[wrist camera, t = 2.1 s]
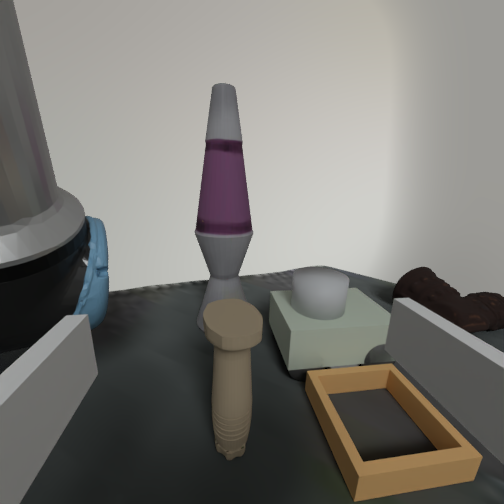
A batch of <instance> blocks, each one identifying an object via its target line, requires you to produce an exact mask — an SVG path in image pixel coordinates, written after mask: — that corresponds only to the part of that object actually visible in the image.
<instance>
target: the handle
mask: <svg viewBox="0 0 504 504" xmlns="http://www.w3.org/2000/svg"><path fill="white" fill-rule="evenodd" d="M262 325H263V318H262V315H261V314H260V313H259V311H258V310H257V309H256V308H255V307H254V306H253V305H251V304H249V303H247V302H245V301H243V300H241V299H222V300H217V301H214V302H211V303H209V304H207V306H206V308H205V310H204V312H203V327H204V332H205V336H206V338H207V340H208V341H209V342H211V343H212V344H213V345H214V363H213V383H212V419H213V428H214V434H215V445H216V449H217V451H218V452H219V453H222V454H223V455H224V456H225V457H226V459H227V460H232V459H233V458H235V457H238V456H239V457H241V456H242V455H243V454H244V452H245V443H246V442H247V438H248V434H249V429H250V423H251V413H252V383H251V353H250V348H251V347H253V346H255V345H257V344H258V343H259V342H261V339H262Z"/></svg>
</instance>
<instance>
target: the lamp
mask: <svg viewBox="0 0 504 504" xmlns="http://www.w3.org/2000/svg"><path fill="white" fill-rule="evenodd" d="M205 142H206V148H205V157H204V165H203V174H202V182H201V190H200V199H199V208H198V215H197V223H196V230H195V235H196V237H197V240H198V243H199V245H200V248H201V250H202V253H203V256H204V258H205V261H206V264H207V267H208V269H209V272H210V279H209V282H208V285H207V288H206V292H205V295H204V298H203V301H202V304H201V308H200V311H199V314H198V317H197V325H198V327H199V328H200V329H201V330H203V331H204V327H203V312H204V310H205V308H206V306H207V304H209V303H211V302H214V301H217V300H222V299H241V300H243V301H245V302H247V301H246V298H245V294H244V291H243V288H242V285H241V282H240V279H239V276H238V274H239V271H240V268H241V265H242V263H243V260H244V257H245V254H246V252H247V249H248V246H249V243H250V241H251V238H252V235H253V230H252V224H251V216H250V208H249V199H248V191H247V183H246V175H245V167H244V159H243V150H242V135H241V127H240V120H239V112H238V105H237V97H236V90H235V87H234V86H232V85H230V84H225V83H219V84H215V85H214V86H213V87H212V94H211V101H210V109H209V117H208V125H207V133H206V140H205Z"/></svg>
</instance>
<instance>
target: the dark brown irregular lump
mask: <svg viewBox="0 0 504 504" xmlns="http://www.w3.org/2000/svg"><path fill="white" fill-rule="evenodd" d="M394 298H410V299H412V300H413V301H415V302H417V303H419V304H420V305H422V306H424V307H425V308H427V309H429V310H431V311H432V312H434V313H436V314H437V315H439V316H441V317H443V318H444V319H446V320H448V321H449V322H451V323H453V324H455V325H456V326H458V327H460V328H461V329H463V330H465V331H467V332H468V333H472V332H478V331H485V330H491V331H494V330H497V329H503V328H504V297H502V296H501V295H500V294H497V293H489V292H480V293H471V294H468V295H467V296H465V297H461V296H460V293H459V292H457V290H456V289H454V288H452V287H450V285H449V284H447V283H446V282H445V281H444V280H442V279H440V278H438V277H437V276H436V274H435V273H434V272H432V270H431V269H429V268H427V267H419V268H416V269H413V270H411V271H409V272H407V273H406V274H405V275H403V276H402V277H401V278H400V280H399V281H398V283H397V284H396V286H395V288H394V291H393V301H394Z"/></svg>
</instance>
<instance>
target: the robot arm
mask: <svg viewBox="0 0 504 504" xmlns="http://www.w3.org/2000/svg"><path fill="white" fill-rule="evenodd" d="M107 270H108V247H107V238H106V231H105V227H104V224H103V222H102V221H101V220H100V219H98V218H92V217H90V216H85V212H84V208H83V206H82V205H81V203H80V202H79V200H78V199H77V198H75V196H73V195H72V194H70V193H69V192H67V191H65V190H63V189H61V188H59V187H57V184H56V180H55V175H54V171H53V167H52V163H51V158H50V154H49V150H48V146H47V142H46V137H45V133H44V129H43V125H42V121H41V116H40V112H39V108H38V104H37V99H36V96H35V91H34V87H33V83H32V78H31V74H30V70H29V66H28V61H27V57H26V53H25V49H24V45H23V41H22V36H21V32H20V28H19V23H18V19H17V15H16V11H15V7H14V2H13V0H0V353H4V352H9V351H13V350H17V349H22V348H26V347H30V346H32V347H31V348H29V349H28V350H27V351H26V352H25V353H24V354H23V355H22V356H21V357H19V358H18V359H17V360H16V361H15V362H14V363H13V364H12V365H11V366H9V367H8V368H7V369H6V370H5V371H4V372H3V373H2V374H0V504H20V502H21V500H22V499H23V497H24V495H25V494H26V492H27V490H28V489H29V487H30V485H31V484H32V482H33V481H34V479H35V477H36V476H37V474H38V472H39V471H40V469H41V467H42V466H43V464H44V462H45V461H46V459H47V457H48V456H49V454H50V452H51V451H52V449H53V447H54V446H55V444H56V442H57V441H58V439H59V437H60V436H61V434H62V433H63V431H64V429H65V428H66V426H67V424H68V423H69V421H70V419H71V418H72V416H73V414H74V413H75V411H76V409H77V408H78V406H79V404H80V403H81V401H82V399H83V398H84V396H85V394H86V393H87V391H88V390H89V388H90V386H91V385H92V383H93V381H94V380H95V378H96V376H97V375H98V371H97V365H96V359H95V353H94V347H93V341H92V335H91V330H92V329H94V328H96V327H97V326H98V325H99V324H101V322H102V321H103V320H104V318H105V316H106V312H107V307H108V295H109V276H108V272H107ZM385 350H386V351H387V352H388V353H389V354H390V355H391V356H392V357H393V358H394V359H395V360H396V361H397V362H398V363H399V364H400V365H401V366H402V367H403V368H404V369H405V370H406V371H407V372H408V373H409V374H410V375H411V376H412V377H413V378H414V379H416V380H417V381H418V382H419V383H420V384H421V385H422V386H423V387H424V388H425V389H426V390H427V391H428V392H429V393H430V394H431V395H432V396H433V397H434V398H435V399H436V400H437V401H438V402H439V403H440V404H441V405H442V406H443V407H444V408H445V409H447V410H448V411H449V412H450V413H451V414H452V415H453V416H454V417H455V418H456V419H457V420H458V421H459V422H460V423H461V424H462V425H463V426H464V427H465V428H466V429H467V430H468V431H469V432H470V433H471V434H472V435H473V436H474V437H475V438H476V439H477V440H479V441H480V442H481V443H482V444H483V445H484V446H485V447H486V448H487V449H488V450H489V451H490V452H491V453H492V454H493V455H494V456H495V457H496V458H497V459H498V460H499V461H500V462H501V463H502V464H503V465H504V353H503V352H501V351H499V350H497V349H496V348H494V347H492V346H491V345H489V344H487V343H485V342H484V341H482V340H480V339H479V338H477V337H475V336H473V335H472V334H470V333H468V332H467V331H465V330H463V329H461V328H460V327H458V326H456V325H455V324H453V323H451V322H449V321H448V320H446V319H444V318H443V317H441V316H439V315H437V314H436V313H434V312H432V311H431V310H429V309H427V308H425V307H424V306H422V305H420V304H419V303H417V302H415V301H413V300H412V299H410V298H394V301H393V306H392V311H391V317H390V322H389V327H388V333H387V338H386V344H385Z"/></svg>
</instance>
